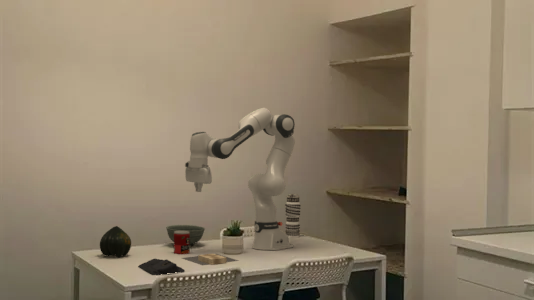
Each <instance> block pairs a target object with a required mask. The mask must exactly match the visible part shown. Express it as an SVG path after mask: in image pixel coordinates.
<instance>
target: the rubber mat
mask: <svg viewBox="0 0 534 300" xmlns="http://www.w3.org/2000/svg"><path fill="white" fill-rule="evenodd" d="M215 254H216V255H220V256H223V257H226V258H227V262H226V263H231V262H232V263H233V262H238V261H240V260H238V259H235V258H232V257H228V256H226V255H221V254H218V253H215ZM181 259H183V260H185V261H189V262H192V263H195V264H198V265H200V266H207V265H211V264H208V263H205V262H201V261H198V255H197V256H196V255H195V256H187V257H181Z"/></svg>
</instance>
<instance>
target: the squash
mask: <svg viewBox="0 0 534 300" xmlns="http://www.w3.org/2000/svg"><path fill="white" fill-rule="evenodd" d="M99 248H100V249H99V250H100V252H101V254H102V255H103V256H105V257H112V256H116V258H121V257H124V256H126V255H128V253H130V250H131V248H132V240H131V237H130V236H129V234H128V233H127V232H125V231H124V230H123V229H122V228H121V227H120V226H118V225H115V226H113V227H111V228H110V229H109V230H107V231H106V232H105V233H104V234H103V236H102V237H101V239H100V241H99Z"/></svg>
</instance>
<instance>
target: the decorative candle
mask: <svg viewBox="0 0 534 300" xmlns="http://www.w3.org/2000/svg"><path fill="white" fill-rule="evenodd" d="M284 206H286V207H285V217H286V221H285V232H284V233H285V234H287V236H288V238H300V234H301V233H300V232H301V231H300V228H301V227H300V226H301V224H300V217H301V216H300V215H301V203H300V195H299V194H298V193H288V195H287V196H286V203H285V205H284Z"/></svg>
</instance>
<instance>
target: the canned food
mask: <svg viewBox="0 0 534 300" xmlns="http://www.w3.org/2000/svg"><path fill="white" fill-rule="evenodd" d="M189 242H190V233H189V231H175V232H174V242H173V253H174V254H176V255H187V254H190V246H189Z"/></svg>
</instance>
